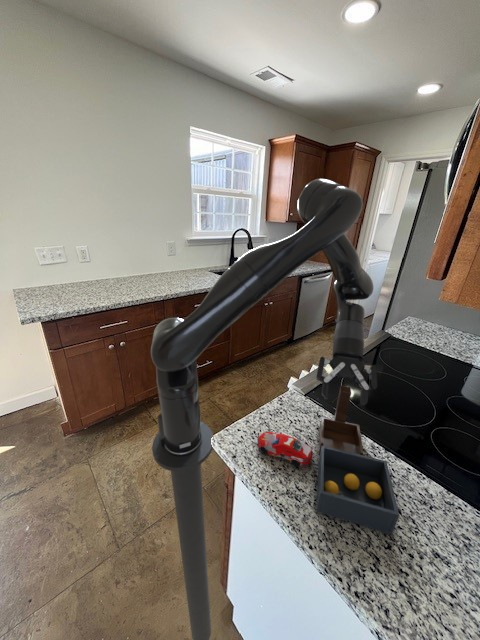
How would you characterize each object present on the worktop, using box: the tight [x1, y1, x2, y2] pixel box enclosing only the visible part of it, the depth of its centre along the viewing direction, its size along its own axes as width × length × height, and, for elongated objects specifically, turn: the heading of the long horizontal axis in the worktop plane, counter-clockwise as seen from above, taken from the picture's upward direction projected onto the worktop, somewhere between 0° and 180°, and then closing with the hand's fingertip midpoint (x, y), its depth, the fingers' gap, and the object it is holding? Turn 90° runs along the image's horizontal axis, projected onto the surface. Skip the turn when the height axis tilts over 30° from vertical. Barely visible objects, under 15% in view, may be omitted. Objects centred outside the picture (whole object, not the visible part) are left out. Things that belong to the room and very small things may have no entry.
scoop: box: [318, 385, 364, 457], centre depth 64 cm, size 11×9×13 cm
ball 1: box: [324, 481, 339, 495], centre depth 53 cm, size 3×3×3 cm
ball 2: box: [344, 473, 360, 490], centre depth 55 cm, size 3×3×3 cm
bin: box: [316, 446, 400, 535], centre depth 53 cm, size 13×11×6 cm
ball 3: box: [365, 482, 382, 500], centre depth 53 cm, size 3×3×3 cm
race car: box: [257, 431, 314, 468], centre depth 63 cm, size 13×5×4 cm, turn 63°
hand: (343, 402), depth 66 cm, fingers open, 8 cm apart
